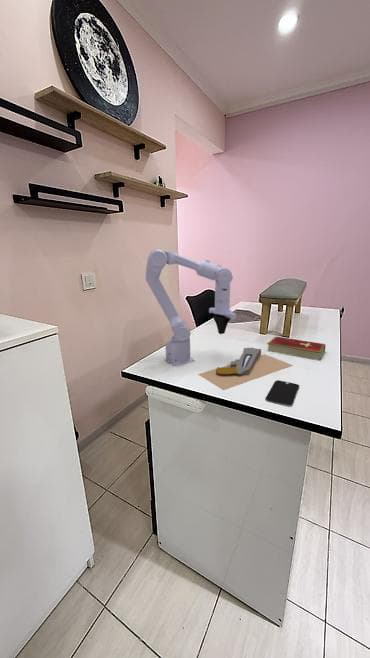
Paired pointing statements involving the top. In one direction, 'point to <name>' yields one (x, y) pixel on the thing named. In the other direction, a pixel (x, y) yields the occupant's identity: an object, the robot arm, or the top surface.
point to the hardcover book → (296, 347)
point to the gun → (242, 363)
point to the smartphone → (282, 393)
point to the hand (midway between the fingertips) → (221, 333)
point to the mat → (260, 369)
